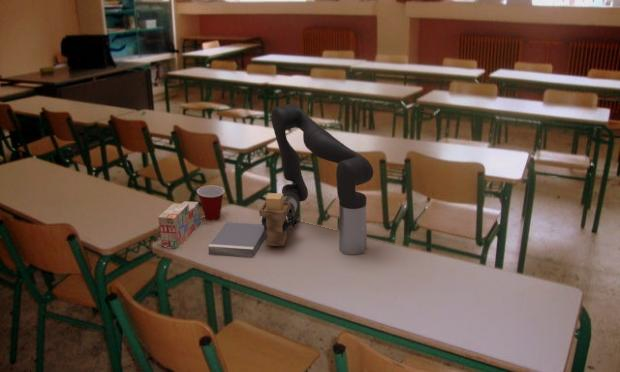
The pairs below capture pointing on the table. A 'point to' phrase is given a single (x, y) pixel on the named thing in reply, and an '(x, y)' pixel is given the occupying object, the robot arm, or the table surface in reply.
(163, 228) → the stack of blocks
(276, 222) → the stand
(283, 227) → the robot arm
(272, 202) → the carton
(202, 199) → the plastic cup
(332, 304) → the table surface
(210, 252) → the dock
